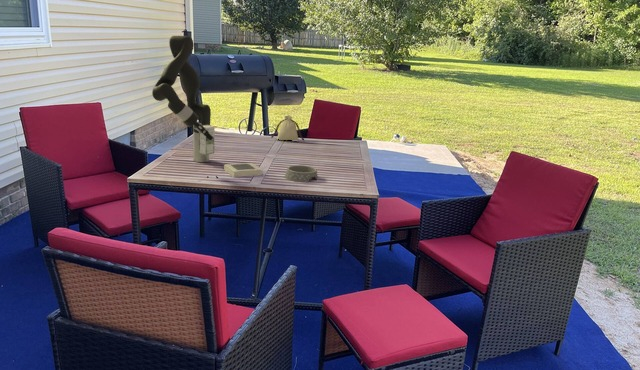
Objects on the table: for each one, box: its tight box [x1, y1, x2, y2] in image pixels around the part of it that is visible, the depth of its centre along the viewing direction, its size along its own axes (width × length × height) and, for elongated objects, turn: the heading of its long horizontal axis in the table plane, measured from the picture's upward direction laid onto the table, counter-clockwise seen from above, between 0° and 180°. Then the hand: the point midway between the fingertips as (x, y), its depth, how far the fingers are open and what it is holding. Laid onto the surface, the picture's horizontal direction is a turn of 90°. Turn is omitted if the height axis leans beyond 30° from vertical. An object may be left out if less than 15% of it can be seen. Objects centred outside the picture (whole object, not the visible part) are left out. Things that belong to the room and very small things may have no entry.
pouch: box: [270, 114, 305, 142], centre depth 362 cm, size 25×8×19 cm, turn 91°
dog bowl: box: [284, 164, 319, 183], centre depth 266 cm, size 17×18×5 cm
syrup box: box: [199, 124, 216, 155], centre depth 255 cm, size 6×6×14 cm
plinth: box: [223, 162, 263, 178], centre depth 269 cm, size 16×16×3 cm
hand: (209, 137), depth 256 cm, fingers closed on syrup box, 7 cm apart
